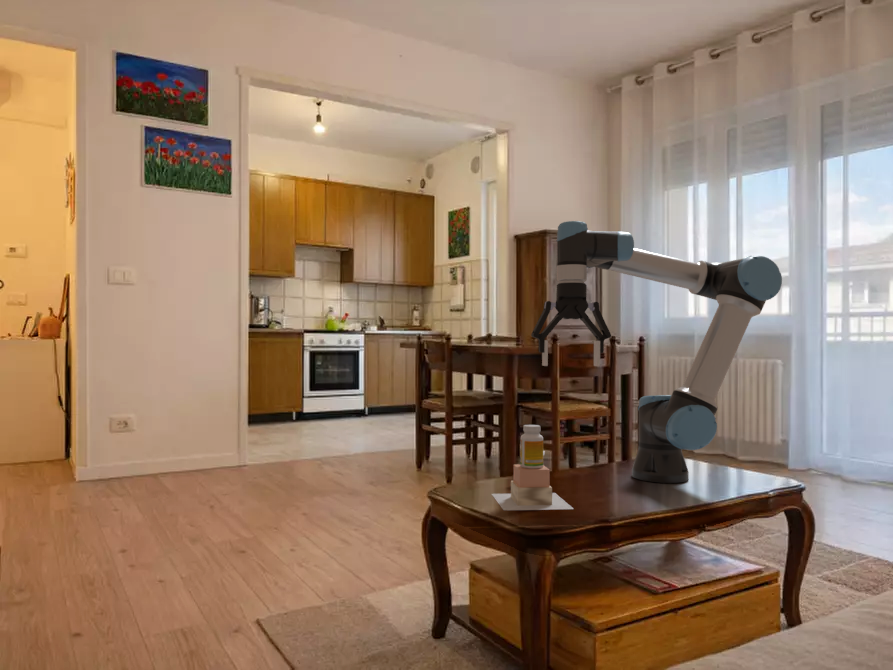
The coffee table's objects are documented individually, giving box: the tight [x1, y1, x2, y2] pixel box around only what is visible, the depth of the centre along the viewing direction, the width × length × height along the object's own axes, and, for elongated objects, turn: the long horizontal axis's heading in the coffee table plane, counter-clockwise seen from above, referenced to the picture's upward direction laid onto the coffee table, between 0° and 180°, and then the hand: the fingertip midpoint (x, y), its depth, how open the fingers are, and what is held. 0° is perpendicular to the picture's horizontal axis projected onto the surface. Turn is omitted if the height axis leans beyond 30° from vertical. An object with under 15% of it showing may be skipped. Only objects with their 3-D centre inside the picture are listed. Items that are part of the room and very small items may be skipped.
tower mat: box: [491, 492, 575, 511], centre depth 157 cm, size 16×16×1 cm
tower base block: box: [510, 480, 553, 506], centre depth 157 cm, size 8×8×4 cm
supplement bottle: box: [519, 424, 544, 469], centre depth 158 cm, size 5×5×10 cm
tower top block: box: [512, 463, 551, 487], centre depth 157 cm, size 7×7×4 cm
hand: (570, 366), depth 171 cm, fingers open, 13 cm apart
